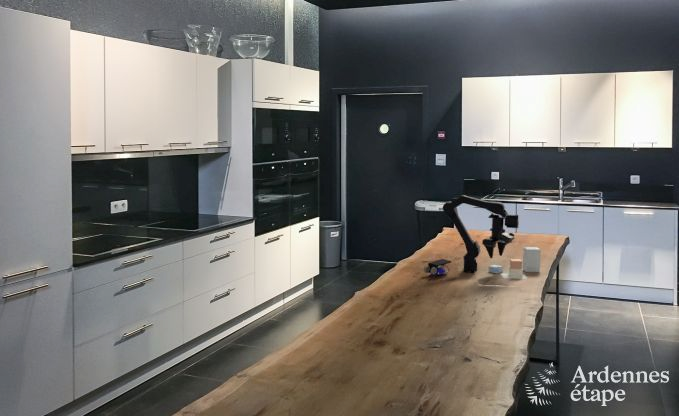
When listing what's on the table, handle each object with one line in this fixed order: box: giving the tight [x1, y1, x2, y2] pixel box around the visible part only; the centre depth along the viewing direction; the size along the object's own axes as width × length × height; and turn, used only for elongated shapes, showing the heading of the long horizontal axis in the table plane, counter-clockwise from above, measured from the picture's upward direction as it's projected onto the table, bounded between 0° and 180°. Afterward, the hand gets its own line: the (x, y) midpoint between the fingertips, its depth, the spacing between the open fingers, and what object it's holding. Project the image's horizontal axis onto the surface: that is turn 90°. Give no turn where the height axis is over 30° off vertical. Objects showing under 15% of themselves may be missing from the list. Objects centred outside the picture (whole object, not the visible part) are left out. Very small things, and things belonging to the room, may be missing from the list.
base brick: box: [508, 265, 524, 277], centre depth 337 cm, size 6×6×4 cm
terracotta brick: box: [509, 258, 523, 269], centre depth 337 cm, size 5×5×4 cm
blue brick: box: [488, 264, 504, 274], centre depth 345 cm, size 5×5×4 cm
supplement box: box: [522, 246, 542, 273], centre depth 350 cm, size 7×7×13 cm
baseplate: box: [499, 272, 528, 280], centre depth 337 cm, size 12×10×1 cm
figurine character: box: [422, 258, 453, 278], centre depth 339 cm, size 7×8×15 cm
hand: (496, 256), depth 344 cm, fingers open, 9 cm apart
